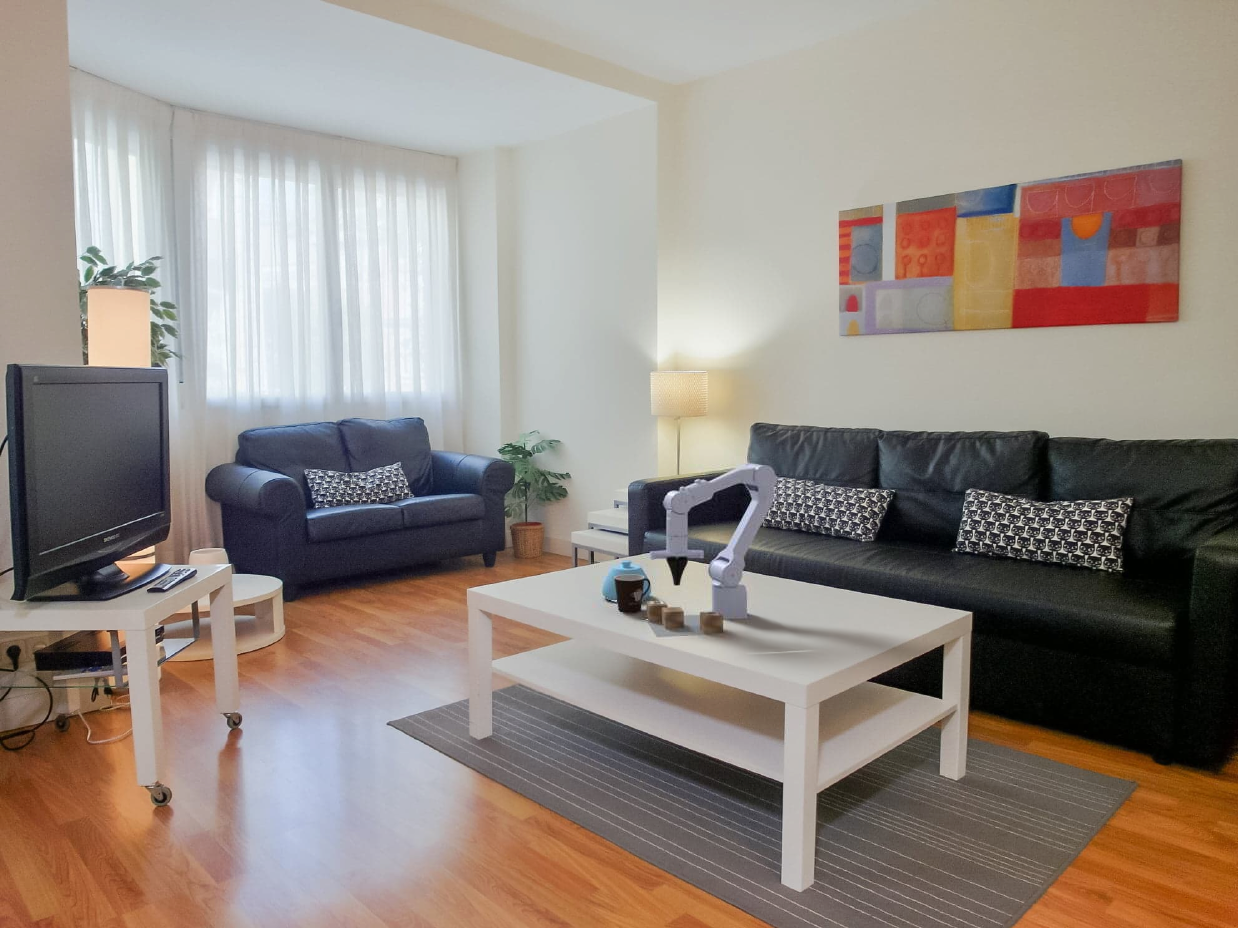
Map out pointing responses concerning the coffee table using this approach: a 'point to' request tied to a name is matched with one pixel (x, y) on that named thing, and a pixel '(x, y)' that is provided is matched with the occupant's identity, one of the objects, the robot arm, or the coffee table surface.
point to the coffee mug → (630, 592)
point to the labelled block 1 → (655, 610)
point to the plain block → (672, 617)
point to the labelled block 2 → (711, 622)
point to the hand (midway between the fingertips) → (676, 584)
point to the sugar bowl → (623, 569)
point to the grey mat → (689, 628)
